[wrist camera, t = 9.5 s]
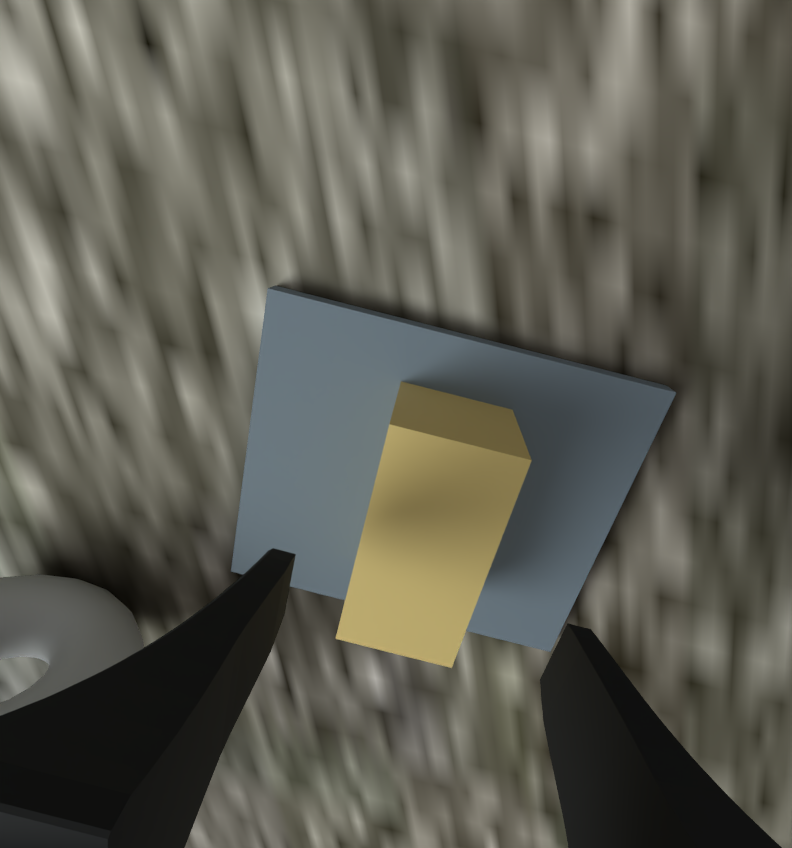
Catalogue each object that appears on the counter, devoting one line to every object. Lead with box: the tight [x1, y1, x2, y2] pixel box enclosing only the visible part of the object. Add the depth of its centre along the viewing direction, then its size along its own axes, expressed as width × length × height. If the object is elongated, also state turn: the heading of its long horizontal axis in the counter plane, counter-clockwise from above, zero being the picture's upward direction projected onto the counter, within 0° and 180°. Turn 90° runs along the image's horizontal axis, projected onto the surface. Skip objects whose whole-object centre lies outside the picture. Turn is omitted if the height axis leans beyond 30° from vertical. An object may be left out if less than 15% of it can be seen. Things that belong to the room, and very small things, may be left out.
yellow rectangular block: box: [336, 381, 532, 668], centre depth 17 cm, size 8×4×4 cm, turn 167°
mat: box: [231, 286, 676, 652], centre depth 19 cm, size 14×12×1 cm
